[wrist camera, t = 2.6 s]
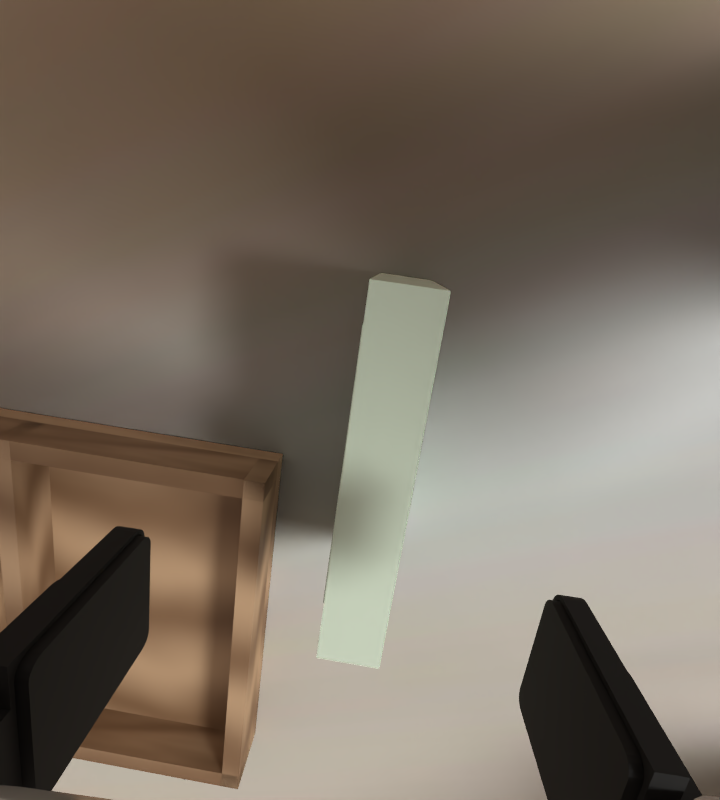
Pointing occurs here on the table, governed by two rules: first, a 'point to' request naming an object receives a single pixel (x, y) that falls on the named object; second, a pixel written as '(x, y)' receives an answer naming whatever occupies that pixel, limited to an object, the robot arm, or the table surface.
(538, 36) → the table surface
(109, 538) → the robot arm
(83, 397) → the table surface
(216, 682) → the wooden divided tray
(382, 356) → the door
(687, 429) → the table surface
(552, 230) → the table surface
